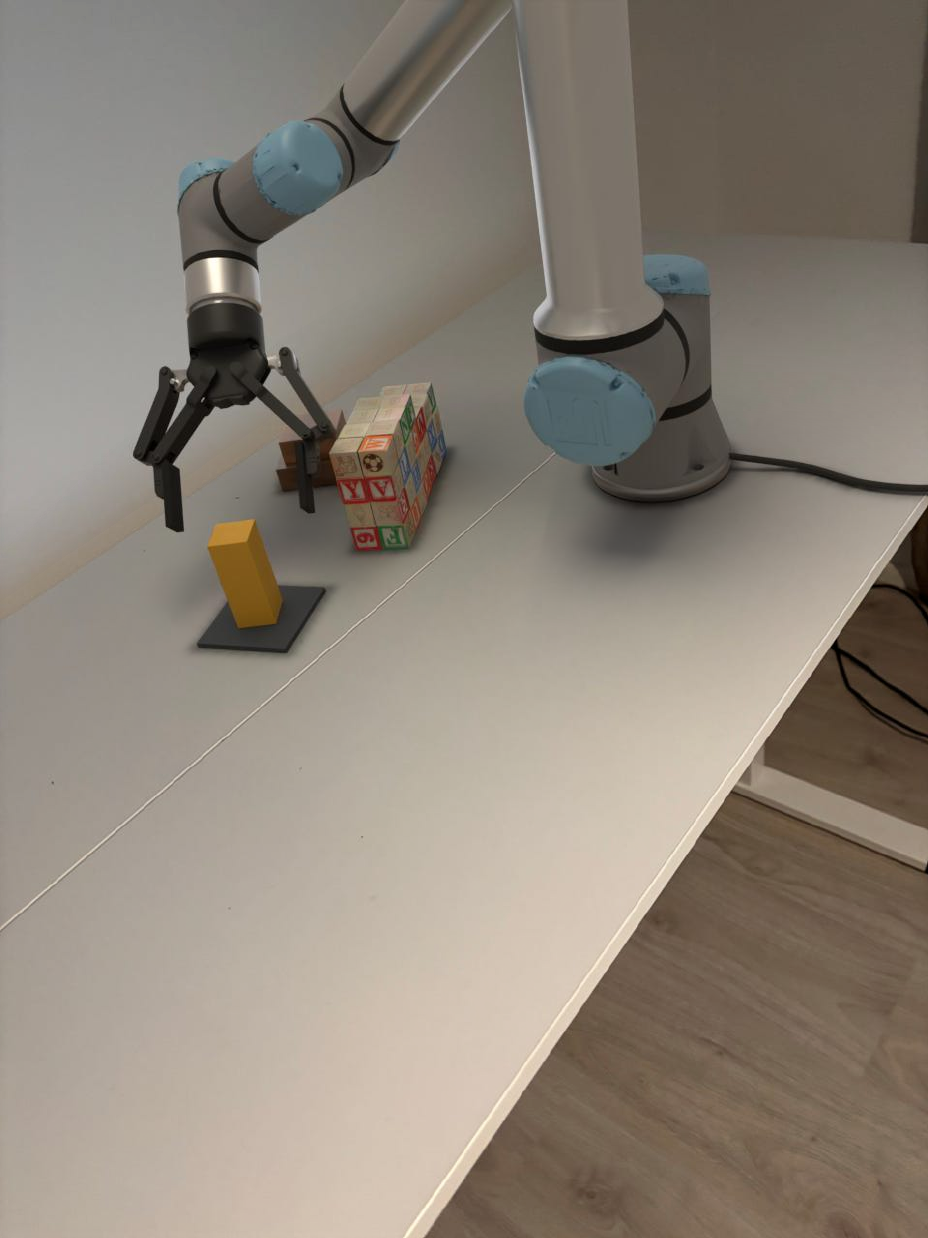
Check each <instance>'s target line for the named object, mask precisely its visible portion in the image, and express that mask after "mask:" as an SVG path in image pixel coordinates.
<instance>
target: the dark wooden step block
mask: <svg viewBox="0 0 928 1238" xmlns="http://www.w3.org/2000/svg"><path fill="white" fill-rule="evenodd" d="M324 412H325V413H326V415H327V416H328V418H329V419H330V421H331V423H332V424H333V426H334V427H335V429H336V431H337V434H336V436H335V437H334V438H332V439H329V438H328V439H326V440H324V441H323V442H322V443H321V444H320V447H319V450H320V462H321V475H320V477H315V478H312V481H313V488H314V487H321V486H328V485H337V481H336V479H337V478H336V476H335V473H334V469H333V466H332V462H331V459H330V455H329V453H330V451H331V449H332V447H333V445H334V443H335V442H336V440H337V439H338V437H339V435H340V433H341V431H342V430H343V428H344V426H345V425H346V423H347V421H346V418H345V414H344V410H343V408H335V409H329V410H324ZM295 415H296V416H297V417H298V418H299V419H300V420H301V421H302V422H303V423H304V424H305V425H307V426H308V427H309V428H312V427H314V426H316V423H315V421H314V420H313V418H312V417H311V415H310V414H309V412H308V413H303V414H295ZM301 441H302V442H303V439H302V438H301V437H300V436H298V435H297V434H296V433H295V432H294V431H293V430H292V429H291V428H290V427H289V426H288V425H287V424H286V423H284V427H283V429H282V432H281V435H280V437H279V440H278V446H279V450H280V452H281V454H280V456H279V460H278V462H277V465H276V468H275V471H276V475H277V478H278V481H279V484H280V488H281V491H282V492H285V491H292V490H298V480H297V469H296V458H295V446H294V443H295V442H301Z"/></svg>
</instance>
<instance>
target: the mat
mask: <svg viewBox="0 0 928 1238" xmlns="http://www.w3.org/2000/svg"><path fill="white" fill-rule="evenodd" d="M278 588H279V590H280V593H281V596H282V599H283V602H282V605H281V609H280V612H279V616H278V619H277V623H276V624H271V625H262V626H254V627H246V628H238V626H237V623H236V621H235V618H234V615H233V613H232V610H231V608H230V605H229V603H228V601H227V602H226V603H225V604H224V606H223V607H222V608H221V610H220V611H219V613H217V615H216V617H215V618H214V619H213V620H212V622H211V623H210V625H209V626H208V627H207V629H206V630H205V631H204V633H203V634H202V635H201V637H200V638H199V640H198V641H197V642H196V646H197V648H205V649H206V648H207V649H223V650H238V651H239V650H240V651H253V652H254V651H255V652H270V653H273V652H274V653H288V651H289V650H290V648H291V647H292V645H293V643H294V642H295V640H296V639H297V637H298V635H299V634H300V632H301V631H302V629H303V628H304V626H305V624H306V623H307V621H308V619H309V618H310V616H311V615H312V613H313V612H314V610H315V609H316V607H317V606H318V604H319V603H320V601H321V600H322V598H323V596H324V595H325V593H326V588H325V587H324V586H305V585H304V586H301V585H278Z"/></svg>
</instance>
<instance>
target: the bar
mask: <svg viewBox="0 0 928 1238" xmlns="http://www.w3.org/2000/svg"><path fill="white" fill-rule="evenodd" d="M206 547H207V551H208V553H209V556H210V558H211V561H212V563H213V566H214V569H215V572H216V574H217V577H218V579H219V582H220V585H221V587H222V589H223V593H224V595H225V597H226V599H227V602H228V603H229V605H230V608H231V610H232V613H233V615H234V618H235V621H236V623H237V626H238V628H246V627H254V626H262V625H271V624H276V623H277V619H278V616H279V612H280V609H281V605H282V602H283V599H282V596H281V593H280V590H279V588H278V586H279V585H278V581H277V579H276V576H275V573H274V571H273V568H272V564H271V562H270V559H269V556H268V553H267V550H266V547H265V544H264V542H263V539H262V535H261V533H260V530H259V527H258V525H257V522H256V519H254V518H251V519H245V520H238V521H230V522H222V523H216V524H215V526H214V528H213V531H212V533H211V535H210V538H209V540H208V543H207V546H206Z"/></svg>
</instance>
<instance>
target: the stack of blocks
mask: <svg viewBox="0 0 928 1238" xmlns="http://www.w3.org/2000/svg"><path fill="white" fill-rule="evenodd" d="M434 391H435V390H434V386H433V383H432V382H431V381H429V382H420V383H419V382H415V383H407V384H398V385H397V384H396V385H387V386H385V385H384V386H382V387H381V390H380V392H379V394H378V396H372V397H360V398H358V399H357V401H356V402H355V405H354V407H353V408H352V412H351V413H350V415H349V417H348V419H347V421H346V425H345V426H344V428H343V430H342V431H341V433H340V435H339V437H338V439H337V440H336V442H335V443H334V445H333V447H332V449H331V451H330V453H329V455H330V459H331V462H332V466H333V469H334V473H335V476H336V478H337V479H336V481H337V484H336V485H337V488H338V492H339V495H340V499H341V503H342V505H343V509H344V511H345V515H346V519H347V522H348V525H349V530H350V533H351V537H352V542H353V545H354V548H355V550H356V551H374V550H375V551H376V550H377V551H378V550H379V551H380V550H398V549H410V547H411V545H412V542H413V540H414V537H415V535H416V533H417V531H418V528H419V526H420V523H421V521H422V517H423V515H424V513H425V511H426V507H427V506H428V499H429V497H430V495H431V491H432V489H433V485H434V483H435V480H436V477H437V475H438V474H439V471H440V468H441V466H442V463H443V460H444V459H445V455H446V452H447V445H446V441H445V436H444V431H443V425H442V421H441V420H442V419H441V416H440V409H439V407H438V405H437V401H436V396H435V392H434Z"/></svg>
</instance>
